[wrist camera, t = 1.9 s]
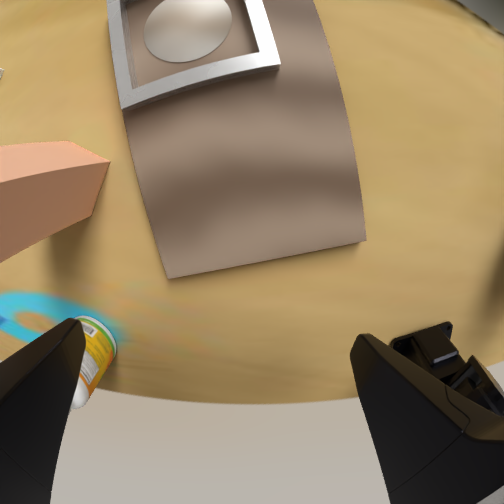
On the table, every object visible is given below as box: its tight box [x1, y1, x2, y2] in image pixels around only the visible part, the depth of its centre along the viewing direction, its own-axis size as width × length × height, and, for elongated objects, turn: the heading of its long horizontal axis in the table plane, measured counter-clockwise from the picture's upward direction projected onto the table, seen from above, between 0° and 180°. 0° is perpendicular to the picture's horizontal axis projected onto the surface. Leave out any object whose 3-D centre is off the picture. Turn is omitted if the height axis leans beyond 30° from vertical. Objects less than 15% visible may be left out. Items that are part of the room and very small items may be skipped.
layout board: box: [107, 0, 367, 279], centre depth 16 cm, size 22×14×2 cm, turn 13°
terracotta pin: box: [0, 141, 110, 263], centre depth 14 cm, size 4×4×11 cm
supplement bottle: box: [68, 316, 116, 415], centre depth 19 cm, size 5×5×10 cm
